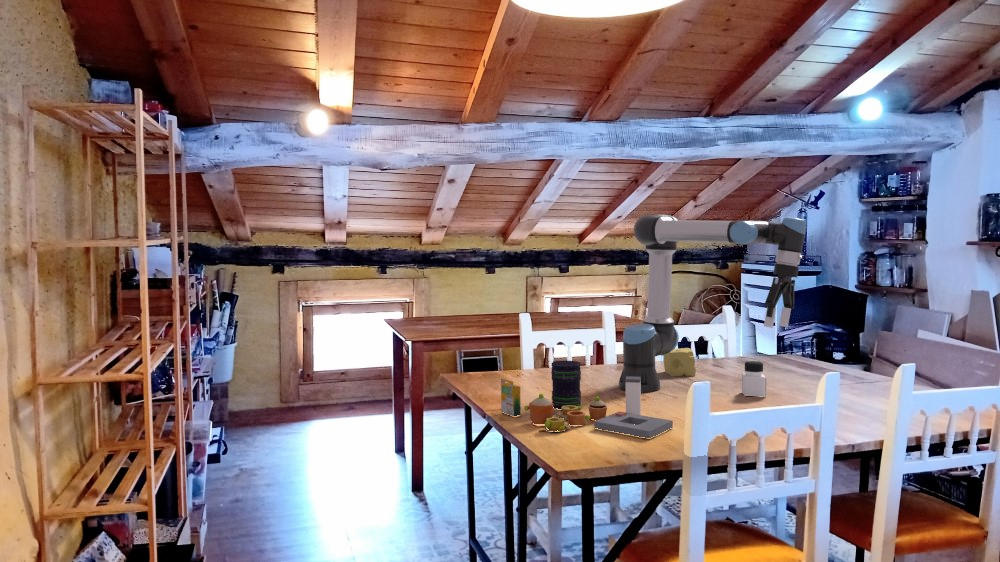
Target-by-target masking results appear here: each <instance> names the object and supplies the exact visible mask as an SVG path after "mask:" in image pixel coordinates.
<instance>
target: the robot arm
mask: <svg viewBox="0 0 1000 562" xmlns="http://www.w3.org/2000/svg"><path fill="white" fill-rule="evenodd" d="M806 231H807V221H806V220H805V219H803V218H802V219H801V218H796V217H787V216H786V217H783V219H782V221H781V222H772V221H764V220H759V219H758V220H756V219H755V220H753V219H751V220H703V219H702V220H701V219H699V220H695V219H694V220H691V219H690V220H688V219H686V220H685V219H677V217H675V216H673V215H669V214H644V215H642V216H640V217H639V218H638V219H637V220H636V222H635V223H634V225H633V236H634V237H635V240H637V241H638V243H640V244H642V245H644V246H645V248H644V249H645V251H646V252H647V253H648V255H649V256H648V281H647V283H648V286H647V289H648V291H647V316H646V317H645V318H643V320H642V322H643V323H636V324H630V325H627V326H626V327H625V328H624V329H623V333H622V334H623V336H622V349H623V350H622V352H623V355H622V357H623V359H622V360H623V361H622V362H623V367H622V371H621V373H620V378H619V379H618V389H620V390H622V391H626V376H632V377H641V393H647V392H648V393H651V392H655V391H656V392H657V391H659V390H660V389H661V381H660V378H659V376H658V373H657V369H656V357H658V356H664V355H665V354H667V353H669V352H671V351H672V350H674V349H676V348H677V346H678V343H679V340H680V339H679V337H680V336H679V332H678V330H677V329H676V327H675V321H674V319H673V318H672V317H671V299H672V275H673V274H672V269H673V255H674V254H675V253H676V251H677V244H678V243H679V242H682V243H684V242H686V243H687V242H688V243H708V244H709V243H713V244H714V243H715V244H717V243H718V244H739V245H750V244H752V245H754V244H756V245H757V244H764V245H765V244H766V245H773V246H777V250H776V256H775V262H776V263H775V264H774V267H773V268H774V269H773V275H776V276H777V277H776V276H775V277H773V278H772V282H771V286H770V288H769V291H768V292H767V293H768V294H767V296H766V299H765V302H764V307H766V310H765V311H766V312H765V317H764V323H763V326H764V327H766V328H770V329H771V328H772V329H773V328H774V322H775V318H776V311H777V308H776V306H777V304H778V302H779V301H780V298H781V296H782V302H783V303H782V304H783V306H782V308H781V313H780V319H779V324H778V326H780V327H785V328H788V327H789V323H790V322H789V321H790V318H791V317H790V316H791V311H792V309H795V284H796V279H792V278H797V277H798V275H799V270H800V269H799V265H800V264H801V263H800V262H801V259H803V256H802V253H803V247H804V241H805V237H806Z"/></svg>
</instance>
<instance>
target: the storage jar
mask: <svg viewBox="0 0 1000 562" xmlns="http://www.w3.org/2000/svg"><path fill="white" fill-rule="evenodd" d="M581 369H582V368H581V362H580V361H576V360H557V361H552V362H551V372H550V373H551V381H552V391H551V402H552V403H553V407H554V408H558V409H562V408H561V407H562V406H568V405H573V406H581V407H582V405H581V404H582V391H581V379H582V376H581V375H582V371H581Z"/></svg>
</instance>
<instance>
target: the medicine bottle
mask: <svg viewBox="0 0 1000 562" xmlns="http://www.w3.org/2000/svg"><path fill="white" fill-rule="evenodd" d="M741 393H742V395H743V394H744V395H743V397H745V396H763V397H762V398H767V377H766V376H765V375H764V363H763V362H762V361H759V360H747V361H745V362H744V372H743V373H741ZM764 396H765V397H764Z"/></svg>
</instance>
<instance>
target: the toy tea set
mask: <svg viewBox="0 0 1000 562" xmlns="http://www.w3.org/2000/svg"><path fill="white" fill-rule="evenodd" d="M587 406H588V407H587V408H588V412H589V414H587V415H586V412H585V411H583V410H582V405H581V406H573V405H568V406H562V407H561V408H562V411H561V412H562V413H557V412H558V410H556V408H553V403H552V400H550V399H549V398H547V397H545V396H544V394H543V393H539V394H538V397H536V398H534V399H533V400H532V401H531V402H529V403H528V405H525V406H524V407H523V409H524V411H526V412H527V411H529V414H530V419H531V424H532V423H534V424H545V426H543V427H544V428H543V430H544V429H545V430H547V429H546V427H547V428H548V429H549V430H547V431H553V432H555V431H557V430H558V431H564V430H566V429H568V430H569V429H572V427H571V426H569V424H570V425H583V424H584V425H585V420H586V421H590V418H591V419H594V420H599V419H601V418H604V417H606V416H607V410H608V406H607V405H606V403H605V402H604V401H603V400H601V398H600V397H599V396H598V395H596V396H595V397H594V400H592V401H590V402H589V403H588V405H587ZM554 414H555V416H553V415H554ZM559 417H560V418H559ZM563 418H564V419H565V420H564V419H563ZM566 421H567V423H568V424H565V423H566ZM545 430H544V431H545ZM547 431H546V432H547ZM566 431H567V430H566ZM564 432H565V431H564Z"/></svg>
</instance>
